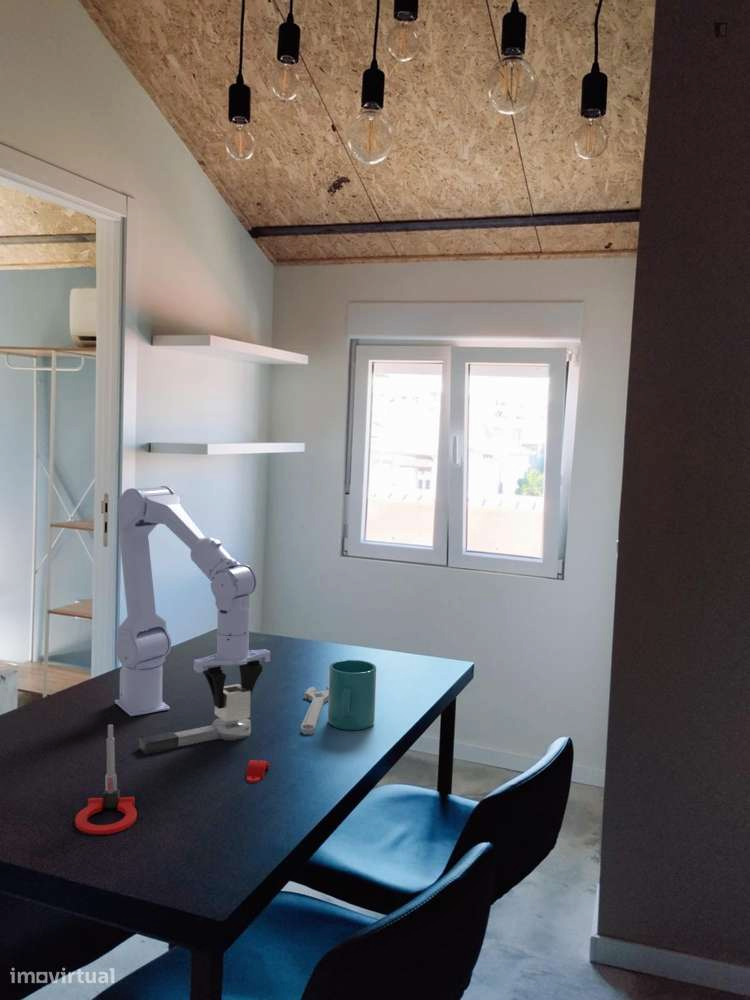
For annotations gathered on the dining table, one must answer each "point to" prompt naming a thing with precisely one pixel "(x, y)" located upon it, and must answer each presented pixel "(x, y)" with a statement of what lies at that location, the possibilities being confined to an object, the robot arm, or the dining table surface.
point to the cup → (351, 694)
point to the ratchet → (196, 735)
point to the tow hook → (108, 799)
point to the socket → (234, 703)
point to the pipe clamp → (256, 770)
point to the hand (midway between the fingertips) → (232, 704)
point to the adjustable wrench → (314, 709)
